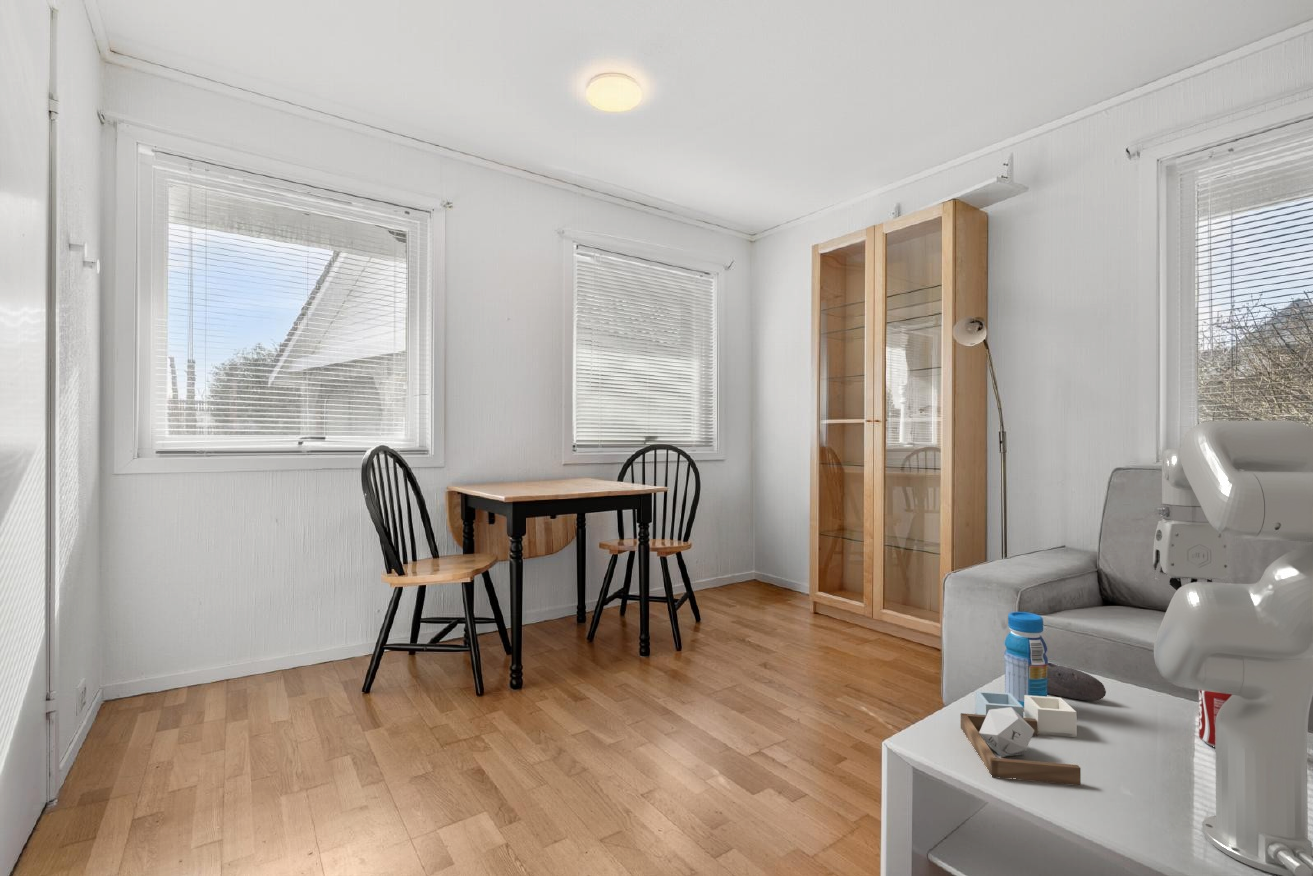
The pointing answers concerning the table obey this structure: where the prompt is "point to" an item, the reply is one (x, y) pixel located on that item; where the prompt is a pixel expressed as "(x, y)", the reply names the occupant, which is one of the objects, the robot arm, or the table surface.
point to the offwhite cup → (1051, 715)
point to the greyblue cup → (995, 702)
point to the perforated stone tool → (1073, 683)
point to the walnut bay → (1017, 767)
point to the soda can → (1209, 714)
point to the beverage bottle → (1025, 657)
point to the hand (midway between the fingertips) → (1189, 614)
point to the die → (1006, 732)
